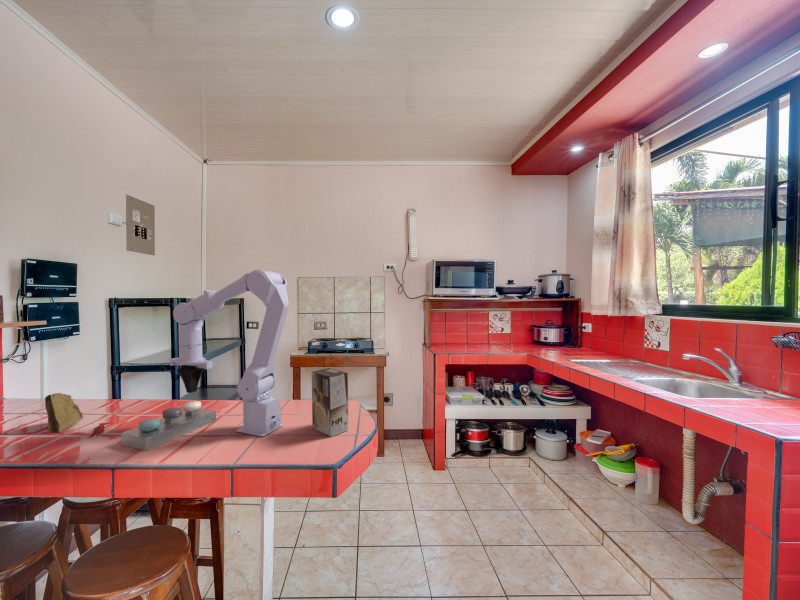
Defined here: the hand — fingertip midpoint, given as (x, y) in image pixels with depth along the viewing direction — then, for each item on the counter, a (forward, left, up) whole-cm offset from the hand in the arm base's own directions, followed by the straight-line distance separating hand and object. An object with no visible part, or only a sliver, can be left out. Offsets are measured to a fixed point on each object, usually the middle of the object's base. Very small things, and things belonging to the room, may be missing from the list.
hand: (191, 391), depth 100 cm
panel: (0, +6, -9) cm, 11 cm away
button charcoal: (0, +6, -7) cm, 9 cm away
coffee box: (-39, -11, -10) cm, 42 cm away
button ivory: (0, 0, -7) cm, 7 cm away
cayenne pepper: (+20, +12, -10) cm, 26 cm away
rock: (+33, +13, -10) cm, 37 cm away
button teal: (0, +12, -8) cm, 14 cm away
